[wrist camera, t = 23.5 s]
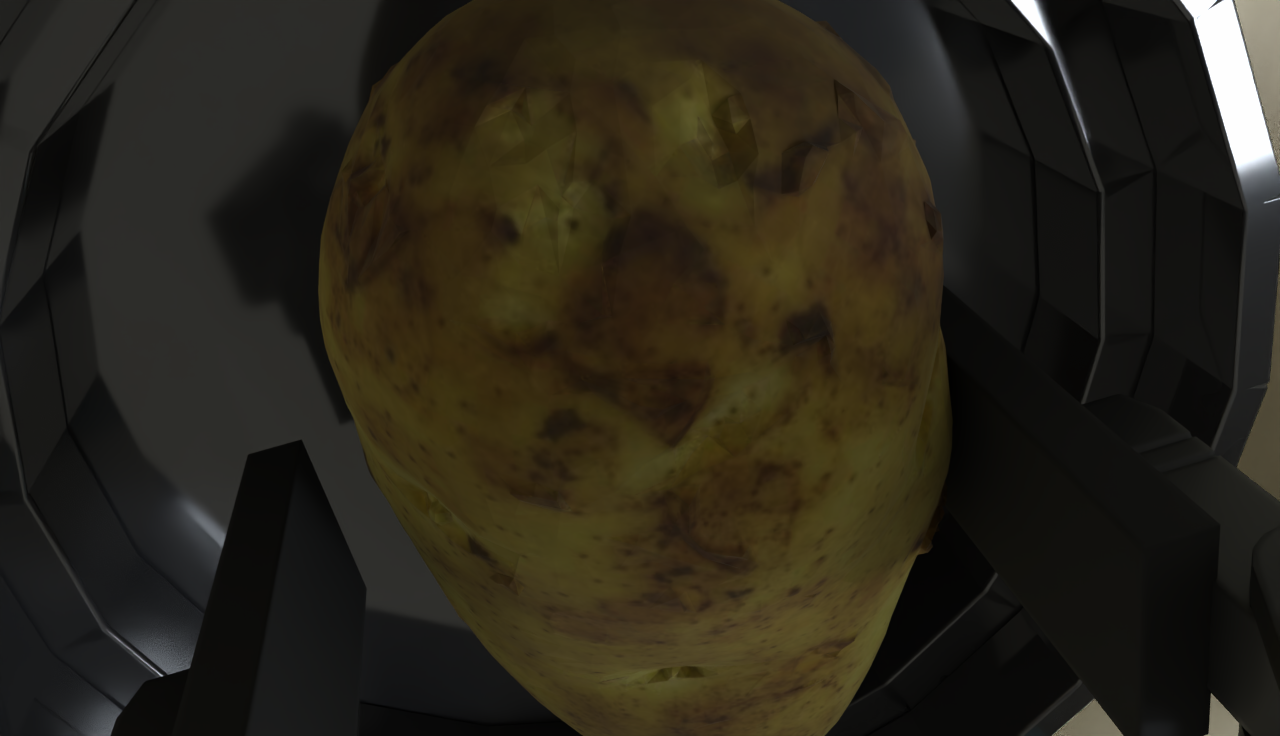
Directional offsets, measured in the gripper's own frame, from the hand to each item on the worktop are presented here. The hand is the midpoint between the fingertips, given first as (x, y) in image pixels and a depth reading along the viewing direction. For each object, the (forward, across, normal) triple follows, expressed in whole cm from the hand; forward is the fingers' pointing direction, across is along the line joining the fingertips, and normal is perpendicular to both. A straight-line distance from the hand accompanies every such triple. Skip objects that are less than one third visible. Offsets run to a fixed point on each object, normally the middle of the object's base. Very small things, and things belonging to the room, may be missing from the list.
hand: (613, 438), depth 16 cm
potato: (+3, 0, 0) cm, 3 cm away
